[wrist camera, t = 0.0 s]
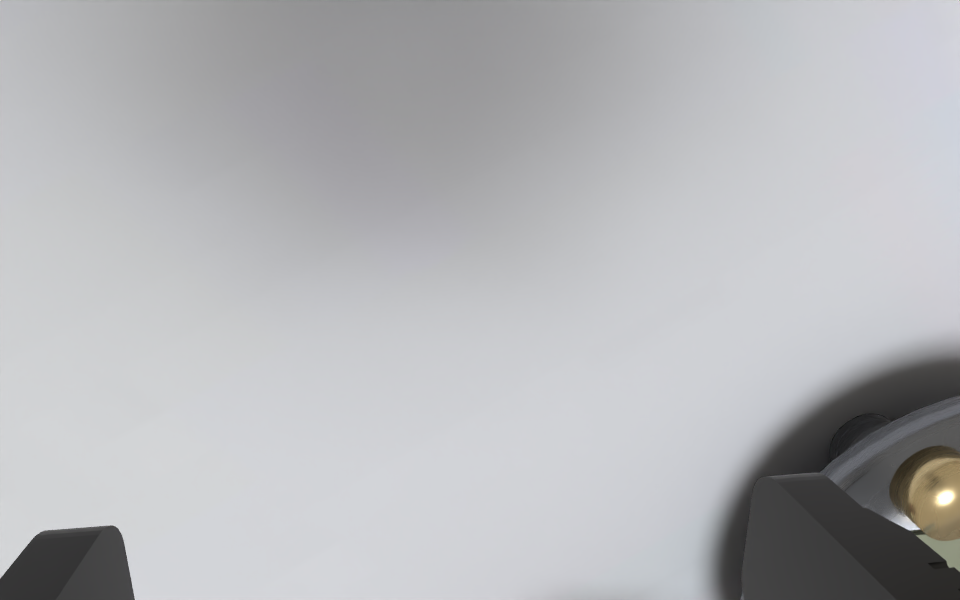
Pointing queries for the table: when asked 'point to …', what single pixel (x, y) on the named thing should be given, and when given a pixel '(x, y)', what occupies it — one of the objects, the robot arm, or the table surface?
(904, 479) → the stand
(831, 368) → the table surface
